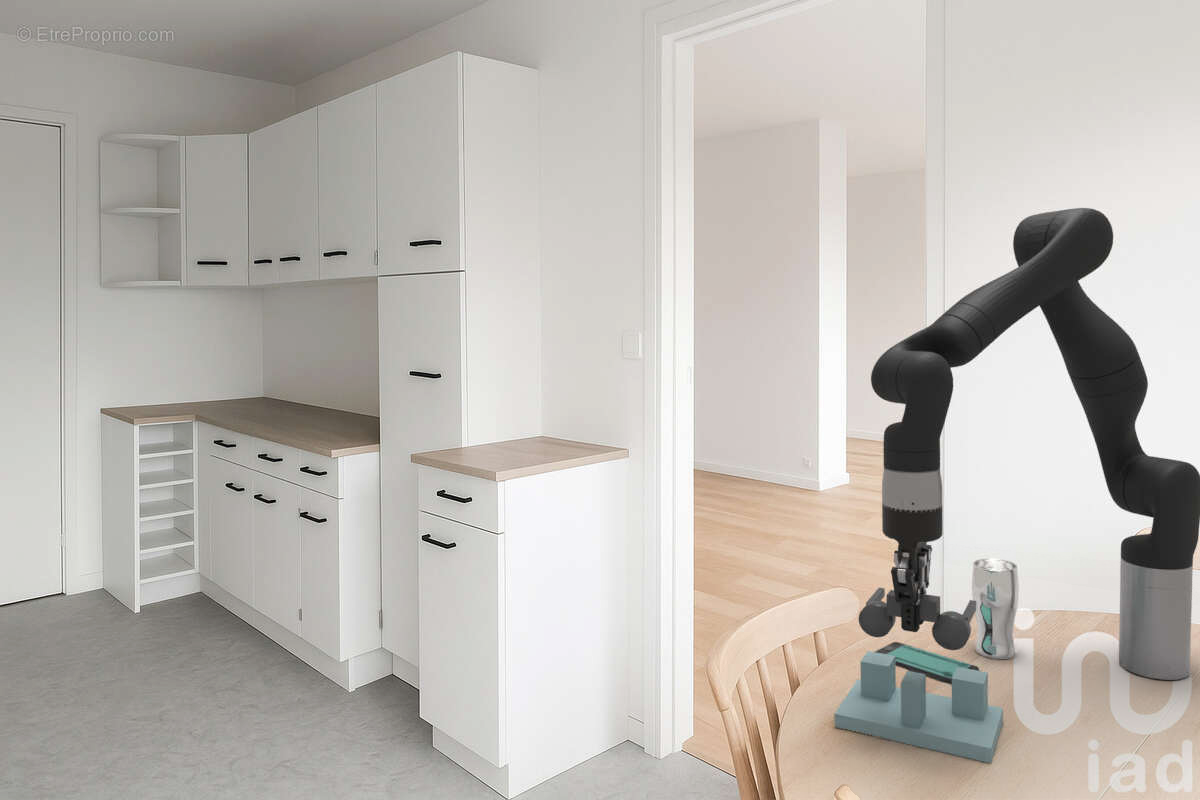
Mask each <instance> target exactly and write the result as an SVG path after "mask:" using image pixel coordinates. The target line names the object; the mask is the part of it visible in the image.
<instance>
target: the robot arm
mask: <svg viewBox="0 0 1200 800" xmlns="http://www.w3.org/2000/svg"><path fill="white" fill-rule="evenodd" d="M1012 239H1013V241H1012V245H1013V247H1012V248H1013V254H1014V258H1015V261H1016V264H1017V267H1016V268H1014V269H1013V270H1010V271H1009V272H1007V273H1004V274H1003V275H1001V276H999V277H997V278H995V279H993V280H991V281H989V282H987V283H985V284H983V285H981V286H980V287H978V288H976V289H974V290H973V291H971V292H969V293H968V294H966V295H964V296H963V297H962V298H961V299H959V300H958V301H956V303H954V304H953V305H951V307H949V308H948V309H947V310H946V311H945V312H944V313H943V314H942V315H940V316H939V317H938V318H937V319H936V320H935V321H934V322H933V323H931V324H930V325H928V326H926V327H925V328H923V329H921V330H919V331H917V332H915V333H913V334H911V335H909V336H908V337H906V338H904V339H903V340H901V341H899V342H897V343H896V344H894V345H892V346H891V347H890V348H888V349H887V350H886V351H885V352H883V354H882V355H880V356H879V358H878V359H877V360H876V362H875V363H874V366H873V367H872V370H871V375H870V383H871V387H872V390H873V391H874V393H875V394H876V395H877V396H878V397H879V398H880V399H882V400H884V401H886V402H889V403H894V404H901V405H905V406H904V411H903V416H902V418H901V421H899V422H893V423H891V424H888V426H887V427H886V428H885V429H884V433H883V445H882V446H883V450H882V451H883V452H882V453H883V473H882V480H881V506H882V507H881V509H882V510H881V512H882V513H881V514H882V515H881V516H882V517H881V521H882V523H881V525H882V527H881V528H882V530H881V531H882V533H883V535H884V536H885V537H886V538H888V539H891V540H894V541H896V542H897V543H898V544H897V550H894V553H893V564H894V566H892V567H891V569H890V575H891V579H892V586H893V590H894V593H895V600H896V603H901V617H900V619H901V620H900V623H901V624H900V625H901V629H902V630H903V631H904V632H905V631H907V632H910V633H911V632H913V633H918V631H919V630H920V628H921V627H920V625H923V624H924V622H925V621H922V620H919V604H920V602H921V600H920V594H926V595H927V592H928V591H927V589H928V588H929V586H930V574H931V573H930V572H931V571H930V570H931V559H932V552H933V546H932V545H931V544H927V543H931V542H935V541H937V540H940V539H941V538H942V536H943V532H944V531H943V527H944V526H943V525H944V523H943V519H944V517H943V506H944V505H943V479H942V474H941V436H942V432H943V429H944V426H945V423H946V418H947V416H948V411H949V407H950V404H951V400H952V396H953V391H954V376H953V372H952V368H958V367H964V366H965V365H967V364H969V363H970V362H971V361H973V360H974V359H976V357H978V356H979V355H980V354H981V353H983V352H984V350H986V349H987V348H988V347H989V346H990V345H991V344H993V342H994V341H996V339H998V338H999V337H1000V336H1001V335H1002V334H1004V332H1006V331H1007V330H1008V329H1009V328H1011V327H1012V326H1013V325H1014V324H1016V323H1017V322H1018V321H1019V320H1021V319H1023V318H1024V317H1025V316H1027V315H1028V314H1029V313H1031V312H1033V311H1034V310H1035V309H1036V308H1038V307H1039V308H1040V309H1041V311H1042V314H1043V316H1044V317H1045V320H1046V322H1047V324H1048V327H1049V328H1050V331H1051V334H1052V335H1053V336H1052V337H1054V340H1055V342H1056V344H1057V347H1058V349H1059V352H1060V354H1061V357H1062V360H1063V362H1064V365H1065V368H1066V371H1067V374H1068V376H1069V378H1070V381H1071V384H1072V386H1073V388H1074V391H1075V393H1076V395H1077V398H1078V401H1079V402H1080V404H1081V407H1082V409H1083V412H1084V414H1085V417H1086V420H1087V422H1088V425H1089V428H1090V431H1091V433H1092V436H1093V439H1094V441H1095V442H1094V443H1095V446H1096V448H1097V453H1098V456H1099V460H1100V464H1101V468H1102V471H1103V476H1104V479H1105V483H1106V487H1107V490H1108V493H1109V495H1110V496H1111V499H1112V501H1113V502H1114V503H1115V505H1116V506H1118V507H1119V508H1120V509H1121V510H1123V511H1126V512H1128V513H1131V514H1135V515H1140V516H1144V517H1149V518H1152V523H1151V525H1152V526H1151V530H1150V532H1149V533H1145V534H1144V533H1143V534H1136V535H1131V536H1127V537H1125V538H1124V539H1122V541H1121V544H1120V562H1119V563H1120V564H1119V565H1120V569H1119V570H1120V571H1119V572H1120V573H1119V575H1120V578H1119V579H1120V581H1119V582H1120V583H1119V584H1120V585H1119V627H1118V628H1119V631H1118V636H1119V637H1118V664H1119V666H1120V667H1122V668H1123V669H1125V670H1127V671H1128V672H1131V673H1133V674H1135V675H1139V676H1141V677H1146V678H1150V679H1156V680H1163V681H1164V680H1167V681H1168V680H1169V681H1172V680H1174V681H1175V680H1176V681H1178V680H1182V679H1185V678H1188V677H1189V676H1190V672H1191V671H1190V670H1191V669H1190V668H1191V641H1192V639H1191V638H1192V634H1191V633H1192V608H1193V607H1192V606H1193V573H1194V572H1193V569H1194V568H1193V566H1194V555H1195V552H1196V549H1197V545H1198V542H1199V537H1200V535H1199V533H1200V472H1199V471H1198V469H1197V467H1195V466H1194V465H1193V464H1192V463H1189V462H1186V461H1183V460H1177V459H1171V458H1165V457H1158V456H1150V455H1148V454H1147V453H1146V452H1145V450H1143V448H1142V446H1141V443H1140V441H1139V438H1138V434H1137V431H1136V423H1137V418H1138V416H1139V414H1140V412H1141V409H1142V407H1143V404H1144V402H1145V399H1146V396H1147V392H1148V387H1149V385H1148V384H1149V382H1148V376H1147V373H1146V370H1145V367H1144V364H1143V362H1142V359H1141V356H1140V354H1139V352H1138V348H1137V346H1136V344H1135V342H1134V341H1133V339H1132V338H1131V337H1130V335H1129V334H1128V333H1127V332H1126V330H1124V329H1123V328H1122V326H1121V325H1119V324H1118V323H1117V322H1116V321H1115V320H1114V319H1113V318H1112V317H1110V316H1109V315H1108V314H1107V313H1106V312H1105V311H1103V310H1102V309H1101V308H1100V307H1099V306H1098V305H1097V304H1096V303H1095V302H1094V301H1092V300H1091V298H1090V296H1088V295H1087V294H1086V292H1085V291H1084V289H1083V287H1082V285H1081V284H1080V282H1079V281H1080V280H1082V279H1084V278H1085V277H1087V276H1089V275H1091V274H1092V273H1093V272H1095V271H1096V270H1097V269H1099V268H1100V267H1101V266H1102V265H1103V264H1104V263H1105V262H1106V260H1107V259H1108V257H1109V256H1110V253H1111V251H1112V248H1113V244H1114V231H1113V226H1112V224H1111V222H1110V220H1109V218H1108V217H1107V216H1106V215H1105V214H1104V213H1103V212H1101V211H1099V210H1096V209H1095V208H1090V207H1077V208H1076V207H1075V208H1068V209H1062V210H1061V209H1060V210H1054V211H1047V212H1041V213H1037V214H1032V215H1030V216H1027V217H1025V218H1023V219H1022V220H1021V221H1020V222H1019V223H1018V224H1017V227H1016V228H1015V231H1014V235H1013V238H1012ZM905 592H906V593H909V594H910V595H906V594H905Z"/></svg>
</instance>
